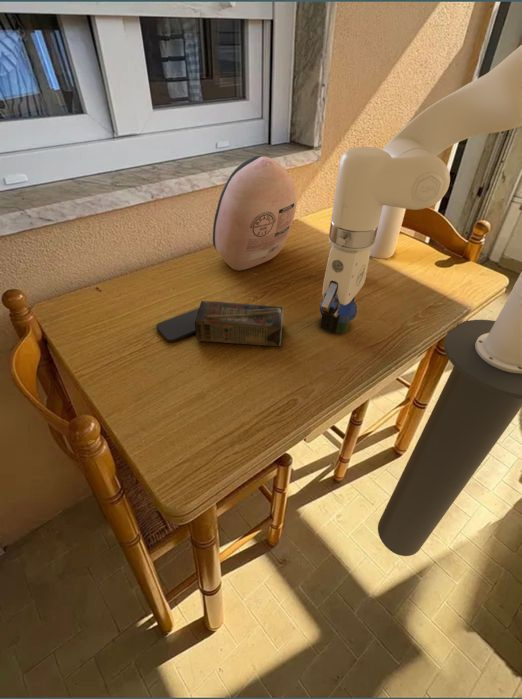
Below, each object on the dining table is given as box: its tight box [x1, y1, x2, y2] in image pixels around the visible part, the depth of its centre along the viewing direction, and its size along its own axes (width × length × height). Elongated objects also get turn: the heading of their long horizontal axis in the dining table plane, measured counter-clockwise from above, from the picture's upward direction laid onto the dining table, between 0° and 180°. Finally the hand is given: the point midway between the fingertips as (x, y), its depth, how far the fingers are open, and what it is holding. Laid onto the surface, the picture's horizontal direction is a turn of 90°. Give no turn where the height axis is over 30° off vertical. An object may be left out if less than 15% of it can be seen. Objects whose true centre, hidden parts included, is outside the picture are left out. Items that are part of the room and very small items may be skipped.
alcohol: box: [370, 205, 407, 259], centre depth 109 cm, size 9×9×30 cm
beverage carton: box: [195, 300, 284, 347], centre depth 85 cm, size 8×19×7 cm, turn 86°
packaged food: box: [212, 155, 298, 272], centre depth 103 cm, size 22×20×30 cm
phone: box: [156, 308, 199, 343], centre depth 90 cm, size 7×1×15 cm
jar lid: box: [319, 295, 358, 323], centre depth 72 cm, size 7×7×2 cm
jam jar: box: [327, 321, 351, 335], centre depth 88 cm, size 6×6×9 cm
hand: (336, 319), depth 74 cm, fingers closed on jar lid, 6 cm apart
